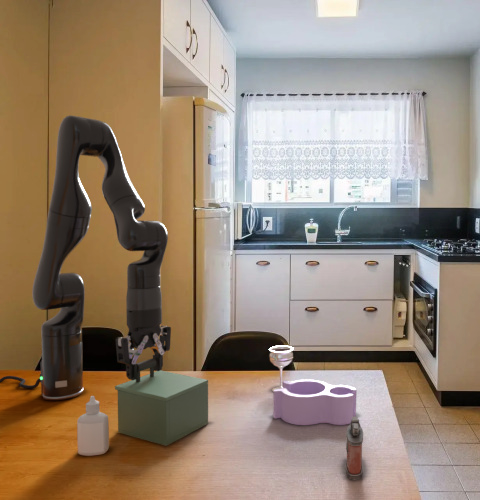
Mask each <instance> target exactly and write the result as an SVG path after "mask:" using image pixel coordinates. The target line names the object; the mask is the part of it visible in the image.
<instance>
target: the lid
mask: <svg viewBox="0 0 480 500" xmlns="http://www.w3.org/2000/svg"><path fill="white" fill-rule="evenodd" d="M135 364H137V379H135V380H129V381H126V382H122V383H120V384H117V385H115V386H114V390H115V391H116V390H117V391H118V390H120V391H124V392H128V393H133V394H137V395H141V396H145V397H150V398H154V399H158V400H162V401H168V400H170V399H173V398H175V397H177V396H180V395H182V394H184V393H186V392H189V391H191V390H193V389H196V388H198V387H200V386H203V385H205V384H207V383H208V384H209V379H206V378H200V377H194V376H190V375H187V374H182V373H181V374H180V373H176V372H171V371H167V370H166V371H165V370H160V371H155V370H154V366H156V360H155V359H154V358H153V357H152V358H149V359H146V360H143V361H140V362H136V363H135ZM145 370H149V373H147V374H145V375H141V372H142V371H145Z"/></svg>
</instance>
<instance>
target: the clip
mask: <svg viewBox="0 0 480 500" xmlns="http://www.w3.org/2000/svg"><path fill="white" fill-rule="evenodd" d="M282 387H283V388H281V389H274V390H273V391H272V392H273V395H272V397H273V399H272V401H273V402H272V403H273V404H272V405H273V406H272V418H273V419H281V420H283V421H284V422H285V423H288V424H291V425H298V426H310V425H311V426H312V425H316V424H322V423H323V424H324V423H327V424H330V425H335V426H343V425H344V426H345V425H351V419H352V417H357V388H356V387H354V386H351V385H347V384H346V385H345V384H331V383H327V382H326V381H322V380H318V379H297V380H292V381H289V380H282Z"/></svg>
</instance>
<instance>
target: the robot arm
mask: <svg viewBox="0 0 480 500" xmlns="http://www.w3.org/2000/svg"><path fill="white" fill-rule="evenodd" d="M81 156H86V157H93V158H94V157H95V158H98V159H99V160H100V162H101V163H102V164H103V166H104V174H103V177H102V178H103V179H102V181H101V193H102V195H103V198H104V201H105V202H106V204H107V206H108V208H109V209H110V211H111V213H112V216H113V219H114V224H115V225H114V226H115V230H116V239H117V242H118V243H119V244H120V246H121V247H122V248H123V249H124V250H126V251H128V252H143V253H142V256H141V257H140V259H137V260H135V261H132V262H130V263H128V265H127V266H126V267H127V268H126V272H127V273H126V279H127V280H126V287H127V288H126V289H127V290H126V296H125V297H126V298H125V301H126V302H125V303H126V326H127V328H128V332H127V335H124V336H117V337H116V338H115V348H116V349H115V350H116V360H117V363H119V364H125V372H126V373H125V376H126V378H127V379H128V380H129V381H131V380H135V379H137V364H136V363H137V361H138V359H139V357H140V356H141V355H142V353H143V352H144V350H146V349H148V348H150V350H151V352H152V358H154V359H155V360H156V366H154V372H156V371H160V370H161V371H163V366H164V355H165V353H166V352H168V351H171V350H170V349H171V334H172V333H171V332H172V327H171V326H167V325H162V324H163V316H162V315H163V307H162V306H163V304H162V303H163V300H162V298H163V297H162V289H161V268H162V265H163V261H164V256H165V253H166V249H167V246H168V241H169V234H168V231H167V228H166V227H165V225H164V224H163V223H162V222H161V221H158V220H138V219H141V217H142V216H143V215H144V214H145V211H146V207H145V204H144V202H143V200H142V198H141V197H140V195H139V193H138V191H137V190H136V188H135V186H134V184H133V182H132V180H131V178H130V176H129V173H128V171H127V168H126V165H125V163H124V159H123V158H124V157H123V156H122V153H121V150H120V148H119V144H118V141H117V138H116V136H115V133H114V132H113V130H112V127H110V125H109V124H108V123H107V122H105V121H102V120H100V119H95V118H89V117H83V116H78V115H66V116H64V118H62V120H61V122H60V124H59V128H58V132H57V141H56V155H55V172H54V178H53V184H52V185H53V186H52V192H51V198H50V202H49V207H48V212H47V219H46V226H45V234H44V240H43V245H42V251H41V254H40V258H39V262H38V265H37V269H36V272H35V276H34V278H33V284H32V291H31V292H32V295H31V296H32V303H33V305H34V306H35V307H36V308H37V309H39V310H42V311H50V310H58V309H60V310H59V312H57V313H56V315H54V316H53V317H51V318H50V319H48V320H46V321H44V322H43V323H42V324H41V326H40V333H41V361H40V373H39V378H37V379H36V382H35V384H33V385H28V384H25V383H26V379H25V378H22V377H19V376H14V375H5V376H2V377H1V378H0V383H2V382H3V381H5V380H14V381H18V382H19V383H18V386H19V387H20V388H23V389H27V390H28V389H29V390H32V389H33V390H34V389H36V388H38V386H39V385H40V388H41V389H40V392H41V394H40V395H41V396H42V399H43V400H46V401H63V400H64V401H65V400H68V399H69V400H70V399H73V398H76V397H79V396H80V395H82V394H83V393H84V390H85V389H84V369H83V368H84V367H83V366H84V365H83V364H84V362H83V361H84V360H83V323H84V319H85V298H86V297H85V295H86V294H85V290H86V289H85V284H84V283H85V282H84V281H83V278H82V277H81V275H80V274H79V273H76V272H61V270H62V268H63V265H64V263H65V261H67V260H66V259H67V258H68V257H69V255H71V253H72V252H74V250H75V249H76V248H77V246H79V244H80V243H81V242H82V241H83V239H84V238H85V236H86V235H87V233H88V231H89V227H90V223H91V217H92V211H93V207H92V202H91V200H90V198H89V195H88V193H87V192H86V189H85V187H84V185H83V183H82V180H81V178H80V175H79V164H80V163H79V162H80V157H81Z"/></svg>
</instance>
